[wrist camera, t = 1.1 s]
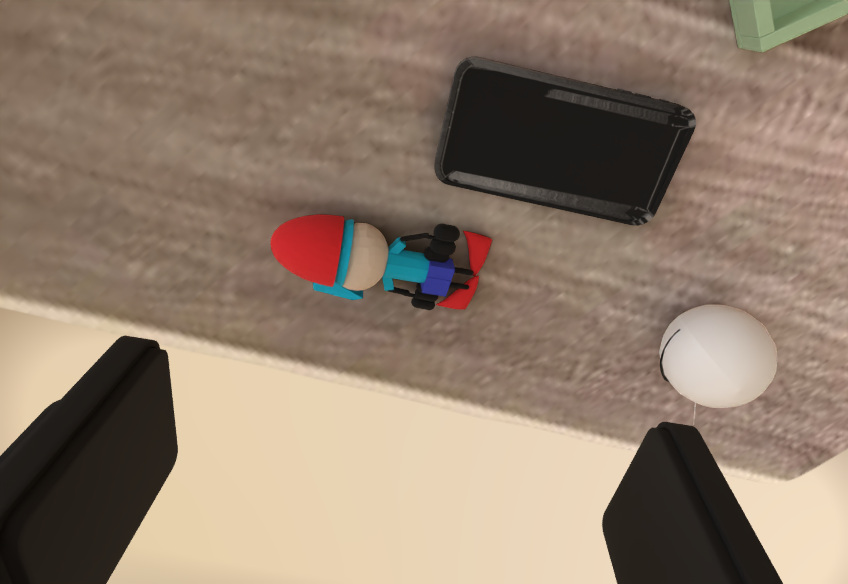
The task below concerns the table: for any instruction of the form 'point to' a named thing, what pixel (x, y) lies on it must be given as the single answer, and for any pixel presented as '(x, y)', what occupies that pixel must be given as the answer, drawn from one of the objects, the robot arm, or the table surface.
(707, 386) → the white sphere
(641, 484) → the robot arm
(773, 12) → the tray
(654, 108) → the phone
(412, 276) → the toy figure
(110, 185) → the table surface
